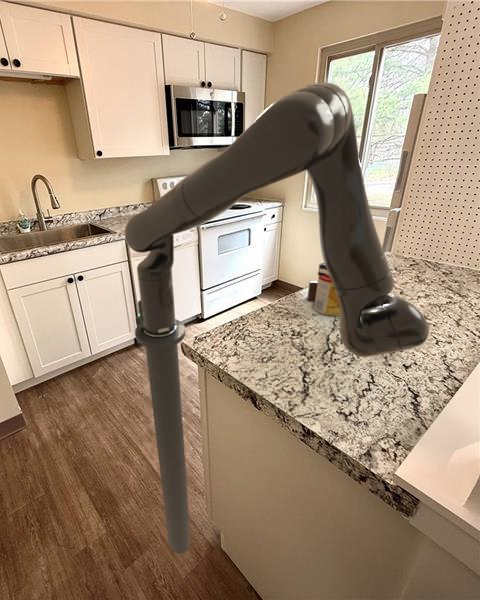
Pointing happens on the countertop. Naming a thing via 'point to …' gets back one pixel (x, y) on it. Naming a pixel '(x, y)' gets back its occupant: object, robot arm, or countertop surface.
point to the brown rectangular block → (312, 290)
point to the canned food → (326, 297)
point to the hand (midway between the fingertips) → (343, 257)
